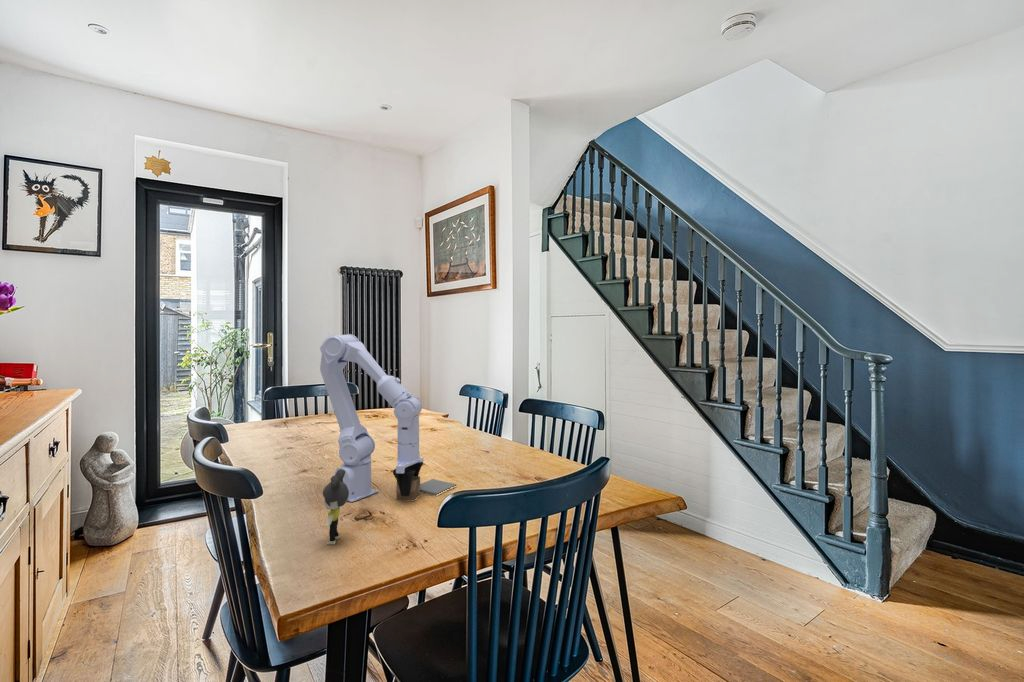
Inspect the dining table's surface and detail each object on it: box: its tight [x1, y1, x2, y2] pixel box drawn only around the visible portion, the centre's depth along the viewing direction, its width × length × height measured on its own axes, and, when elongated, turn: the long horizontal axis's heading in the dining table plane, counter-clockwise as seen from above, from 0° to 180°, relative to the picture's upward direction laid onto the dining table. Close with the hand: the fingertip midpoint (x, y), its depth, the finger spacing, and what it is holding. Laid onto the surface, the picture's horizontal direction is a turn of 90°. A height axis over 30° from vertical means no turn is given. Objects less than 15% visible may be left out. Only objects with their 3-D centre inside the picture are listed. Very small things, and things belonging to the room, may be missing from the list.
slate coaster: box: [420, 478, 458, 496], centre depth 142 cm, size 9×9×1 cm
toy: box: [322, 469, 349, 545], centre depth 108 cm, size 8×5×15 cm, turn 4°
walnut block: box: [395, 475, 421, 501], centre depth 135 cm, size 5×5×5 cm
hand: (408, 492), depth 135 cm, fingers closed on walnut block, 5 cm apart
